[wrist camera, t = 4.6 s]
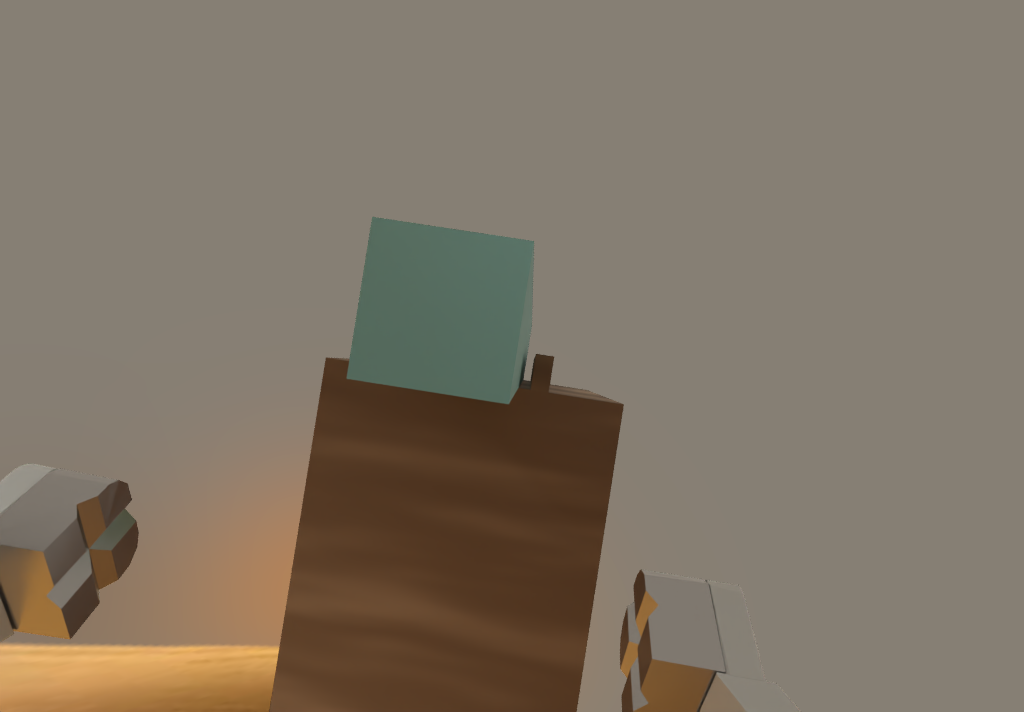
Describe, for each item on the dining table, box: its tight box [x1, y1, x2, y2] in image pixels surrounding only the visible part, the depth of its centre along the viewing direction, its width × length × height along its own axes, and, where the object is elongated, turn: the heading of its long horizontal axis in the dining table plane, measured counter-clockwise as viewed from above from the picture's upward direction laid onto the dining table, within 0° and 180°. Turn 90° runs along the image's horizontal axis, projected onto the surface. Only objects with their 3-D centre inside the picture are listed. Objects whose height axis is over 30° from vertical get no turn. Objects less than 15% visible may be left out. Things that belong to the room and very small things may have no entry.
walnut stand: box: [269, 354, 624, 712], centre depth 29 cm, size 14×10×27 cm
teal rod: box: [346, 217, 534, 404], centre depth 24 cm, size 24×3×3 cm, turn 178°
